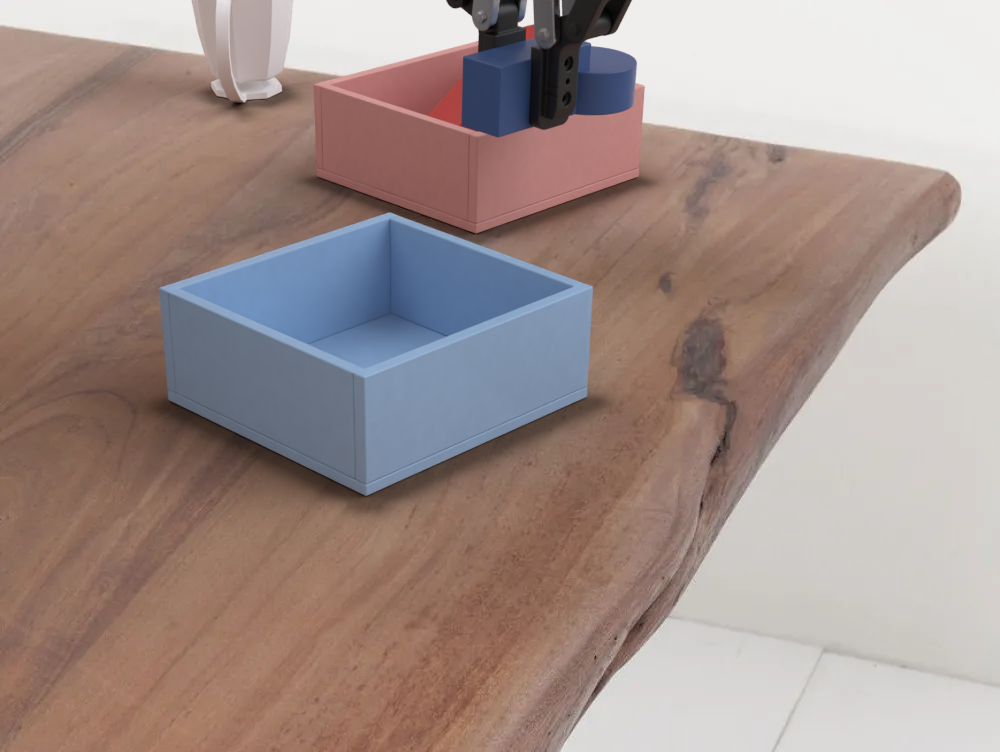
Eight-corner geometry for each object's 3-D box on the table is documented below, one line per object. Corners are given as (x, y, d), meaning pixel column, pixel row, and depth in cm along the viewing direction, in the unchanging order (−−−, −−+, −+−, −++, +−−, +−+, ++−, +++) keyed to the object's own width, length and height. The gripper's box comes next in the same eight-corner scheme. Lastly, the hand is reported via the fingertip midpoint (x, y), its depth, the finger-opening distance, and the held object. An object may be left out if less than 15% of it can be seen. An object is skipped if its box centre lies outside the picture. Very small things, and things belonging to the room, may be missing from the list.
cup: (311, 76, 119) (307, -60, 115) (285, 124, 111) (279, -20, 106) (201, 70, 120) (192, -65, 115) (168, 119, 111) (157, -25, 107)
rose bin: (315, 176, 104) (313, 83, 101) (480, 126, 112) (482, 39, 109) (475, 234, 97) (477, 136, 94) (639, 176, 105) (645, 85, 102)
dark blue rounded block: (442, 120, 89) (443, 50, 87) (579, 80, 95) (583, 14, 93) (517, 144, 86) (520, 73, 85) (653, 102, 93) (659, 35, 91)
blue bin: (167, 400, 80) (158, 287, 77) (390, 316, 88) (389, 211, 85) (365, 496, 73) (363, 377, 71) (587, 397, 81) (593, 286, 79)
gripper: (365, -310, 81) (366, 99, 91) (613, -270, 74) (585, 171, 84) (484, -320, 86) (473, 71, 96) (729, -283, 78) (689, 137, 88)
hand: (525, 116), depth 90 cm, fingers closed on dark blue rounded block, 2 cm apart
